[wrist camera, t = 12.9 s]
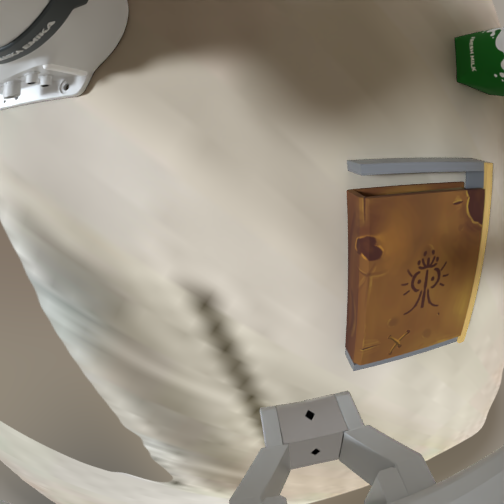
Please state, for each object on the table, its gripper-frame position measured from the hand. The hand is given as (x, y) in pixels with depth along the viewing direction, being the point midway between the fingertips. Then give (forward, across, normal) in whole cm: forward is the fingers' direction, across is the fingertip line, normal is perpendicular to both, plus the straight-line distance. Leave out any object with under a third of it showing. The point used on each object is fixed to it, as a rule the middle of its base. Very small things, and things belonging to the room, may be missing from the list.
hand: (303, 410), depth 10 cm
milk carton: (+28, -35, -18) cm, 48 cm away
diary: (+28, -22, +11) cm, 37 cm away
